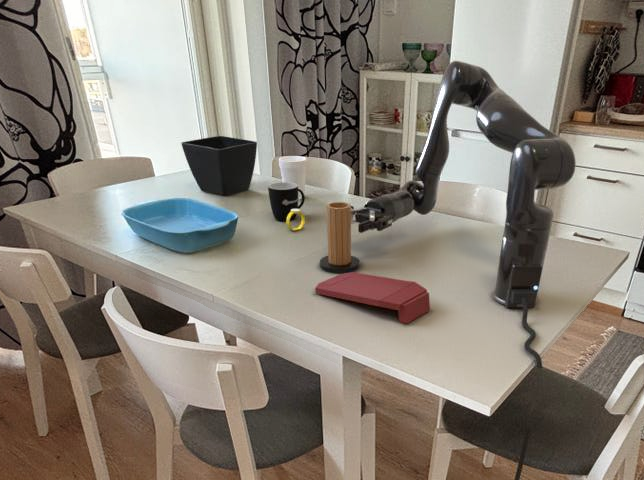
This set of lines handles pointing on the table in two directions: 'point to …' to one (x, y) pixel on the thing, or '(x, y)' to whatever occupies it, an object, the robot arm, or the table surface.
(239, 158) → the flower pot
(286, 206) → the mug
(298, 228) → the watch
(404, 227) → the table surface
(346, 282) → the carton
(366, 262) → the table surface
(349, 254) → the wooden tube
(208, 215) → the casserole dish
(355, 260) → the stand
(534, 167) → the robot arm
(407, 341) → the table surface
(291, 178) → the foam cup
